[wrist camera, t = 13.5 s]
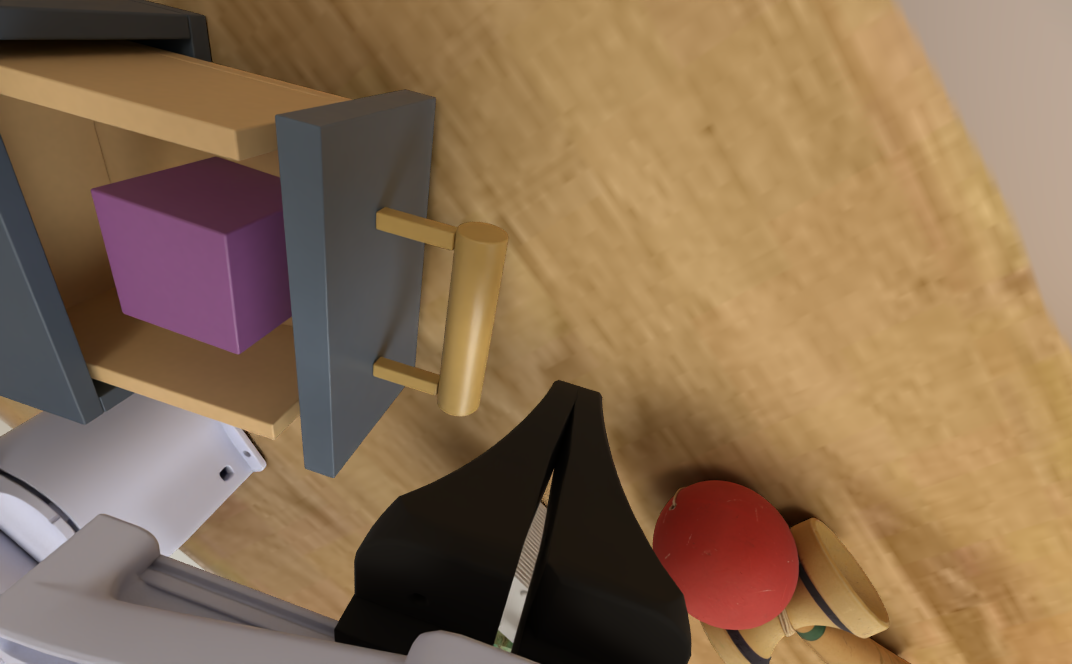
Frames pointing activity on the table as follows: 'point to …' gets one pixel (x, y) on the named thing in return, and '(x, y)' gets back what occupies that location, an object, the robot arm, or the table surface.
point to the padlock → (523, 576)
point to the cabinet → (9, 232)
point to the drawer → (309, 221)
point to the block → (199, 250)
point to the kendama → (767, 578)
